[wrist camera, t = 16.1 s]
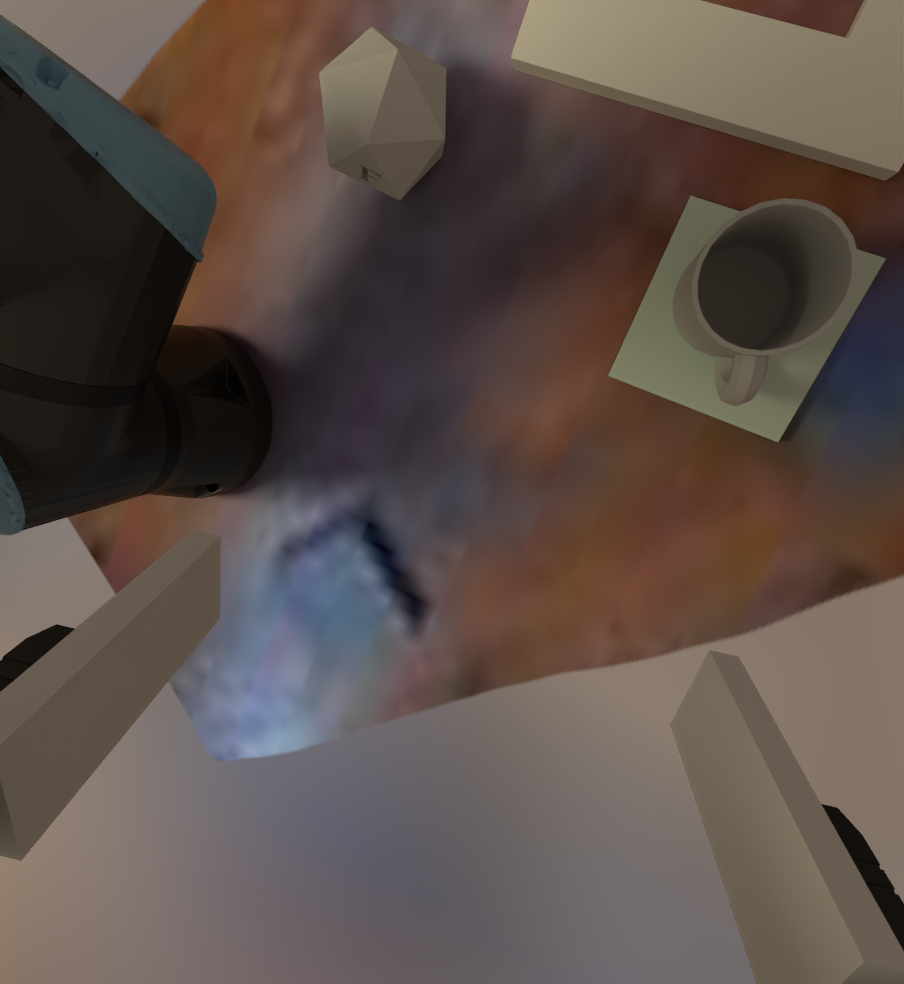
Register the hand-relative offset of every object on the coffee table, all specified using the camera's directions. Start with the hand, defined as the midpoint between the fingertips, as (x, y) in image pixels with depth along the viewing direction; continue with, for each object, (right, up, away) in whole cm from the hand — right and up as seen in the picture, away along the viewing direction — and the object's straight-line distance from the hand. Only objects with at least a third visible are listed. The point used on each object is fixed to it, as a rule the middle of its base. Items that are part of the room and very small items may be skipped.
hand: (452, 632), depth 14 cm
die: (-3, +29, +24) cm, 38 cm away
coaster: (+19, +15, +21) cm, 32 cm away
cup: (+18, +15, +20) cm, 31 cm away
